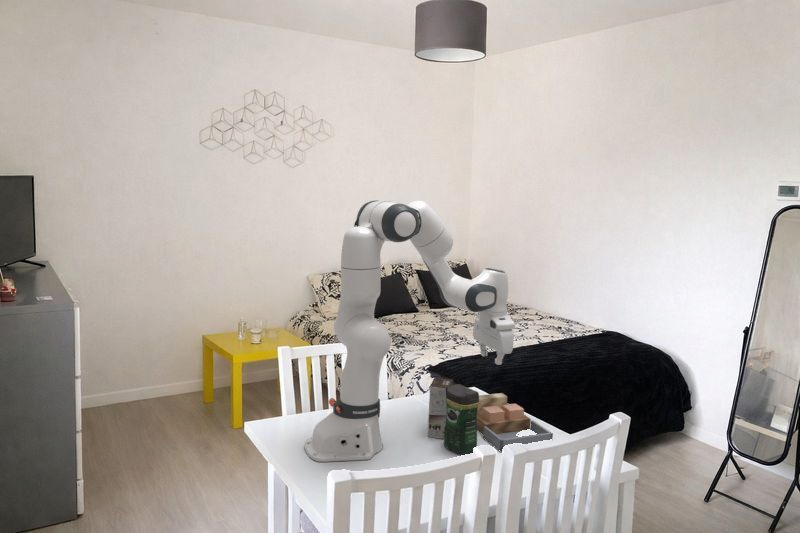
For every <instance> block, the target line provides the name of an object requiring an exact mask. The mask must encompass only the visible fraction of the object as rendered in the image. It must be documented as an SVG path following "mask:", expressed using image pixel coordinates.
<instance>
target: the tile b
mask: <svg viewBox="0 0 800 533" xmlns="http://www.w3.org/2000/svg"><path fill="white" fill-rule="evenodd" d="M502 410H503V411H505V414H504V416H505V417H506V418H508V419H509V420H514V419H522V418H524V415H525V409H524V408H523V407H522V406H520V405H518V404H517V403H508V405H502Z"/></svg>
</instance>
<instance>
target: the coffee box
mask: <svg viewBox="0 0 800 533" xmlns="http://www.w3.org/2000/svg"><path fill="white" fill-rule="evenodd" d="M451 385H454V379H452V378H439V377H433V380H432V381H431V384H430V387H429V401H428V402H429V403H428V423H427V437H428V438H435V439H442V440H444V435H445V427H446V416H447V403H446V393H447V389H448V387H449V386H451Z"/></svg>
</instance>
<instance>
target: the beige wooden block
mask: <svg viewBox="0 0 800 533" xmlns="http://www.w3.org/2000/svg"><path fill="white" fill-rule="evenodd" d="M507 403H508V396H507V395H506V394H504V393H503V392H500V393H491V394H490V393H489V394H481V395H480V394H479V405H478V408H477V410H482V409H483V407H491V406H498V407H499V408H500V407H502V405H507Z"/></svg>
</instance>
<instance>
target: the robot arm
mask: <svg viewBox="0 0 800 533" xmlns="http://www.w3.org/2000/svg"><path fill="white" fill-rule="evenodd" d="M409 240H410V242H411V243H412V246H414V248H415V249H416V251H417V252H418V254H419V255H420V256H421V259H422V261H423V263H424V265H425V266H426V268H427V269H428V271H429V273H430V275H431V276H432V279H434V281H435V283H436V285H437V288H438V292H439V296H440V299H441V300H442V302H443V303H444V304H445V305H446V306H449V307H454V308H458V309H461V310H464V311H468V312H471V313H477V315H476V318H475V319H474V322H473V329H472V330H473V331H472V337H473V339H474V340H475V341H477V342H478V345H479V349H480V356H482V357H487V356H488V349H487V347H488V348H489V349H492V350H493V351H495V352H496V355H497V356H496V358H494V363H495V364H496V365H498V366H499V365H502V364H503V359H504V357H505V355H507V354H512V352H513V351H514V350H513V349H514V342H515V341H514V339H515V336H514V335H515V333H514V330H515V328H516V327H515V326H516V323H515V321H513V319H512V318H511V317H510V315H509V314H508V306H507V302H508V301H507V300H508V298H509V279H508V275H507V273H506V272H505V271H504V270H500V269H496V268H491V267H490V268H489V267H486V268H484V269H482V272H481V273H480V274H479V275H478V276H475V277H474V278H472V279H469V278H465V277H462V276H460V275H458V274H456V273H455V272H454V271H453V270H452V268H451V266H450V264H449V263H448V261H447V260H446V257H447V256H448V255H449V254H450V252H451V251H452V249H453V245H454V239H453V237H452V234H451V231H450V230H449V228H448V227H447V225H446V224H445V223H444V221H443V220H442V218H441V217H440V216H439V214H437V212H436V211H435V210H434V209H433V208H432V207H431V206H430V205H429V204H428V203H427V202H425V201H424V200H414V201H411V202H409V203H407V204H405V203H397V202H394V201H390V200H370V201H368V202H365V203H364V204H363V205H361V207H360V208H359V210H358V211H357V214H356V219H355V221H354V224H353V227H352V228H349V229H348V230H347V231H346V232H345V233H344V236H343V240H342V245H341V255H340V298H339V304H338V309H337V314H336V315H337V316H336V317H335V320H334V322H333V330H334V333H335V335H336V338H337V340H338V341H339V342H340V343H341V345H343V346H344V347H346V354H347V355H346V359H345V363H344V367H343V369H342V370H341V371H340V386H339V387H340V391H339V394H340V396H339V398H338V399H337V400H336V399H335V398H333V397H331V398H329V399H328V404H329V406H330V407H332V412H331V413H329V414H328V415H327V416H325V417H324V418H323V419H322V420H321V421H319V422H318V423H316V425H315V426H314V429H313V432H312V433H313V434H312V437H310V438H307V439H306V440H305V441H304V451H305V454H306V455H307V456H308V457H309V458H310V459H311V460H313V461H316V462H322V463H323V462H325V463H326V462H341V461H343V462H345V461H346V462H347V461H365V460H367V461H368V460H371V459H372V458H373V457H374V456H375V454H377V453H379V452H380V451H382V449H383V446H384V444H383V442H382V437H381V432H380V422H379V420H380V419H379V418H380V415H381V414H380V413H381V399H380V398H379V394H380V393H379V392H380V377H381V375H380V374H381V370H382V369H381V368H382V365H383V362H384V358H385V356H386V355H387V354H388V352H389V350H390V348H391V344H392V342H391V341H392V340H391V336H390V334H389V332H388V330H387V328H386V327H385V325H384V324H382V323H381V322H380V321H378V320H376V319H375V308H376V304H377V301H378V299H379V297H380V295H381V292H382V291H381V286H382V285H381V284H382V283H381V278H382V277H381V273H382V272H381V251H382V249H383V245H384V243H385V242H393V243H403V242H407V241H409Z"/></svg>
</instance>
